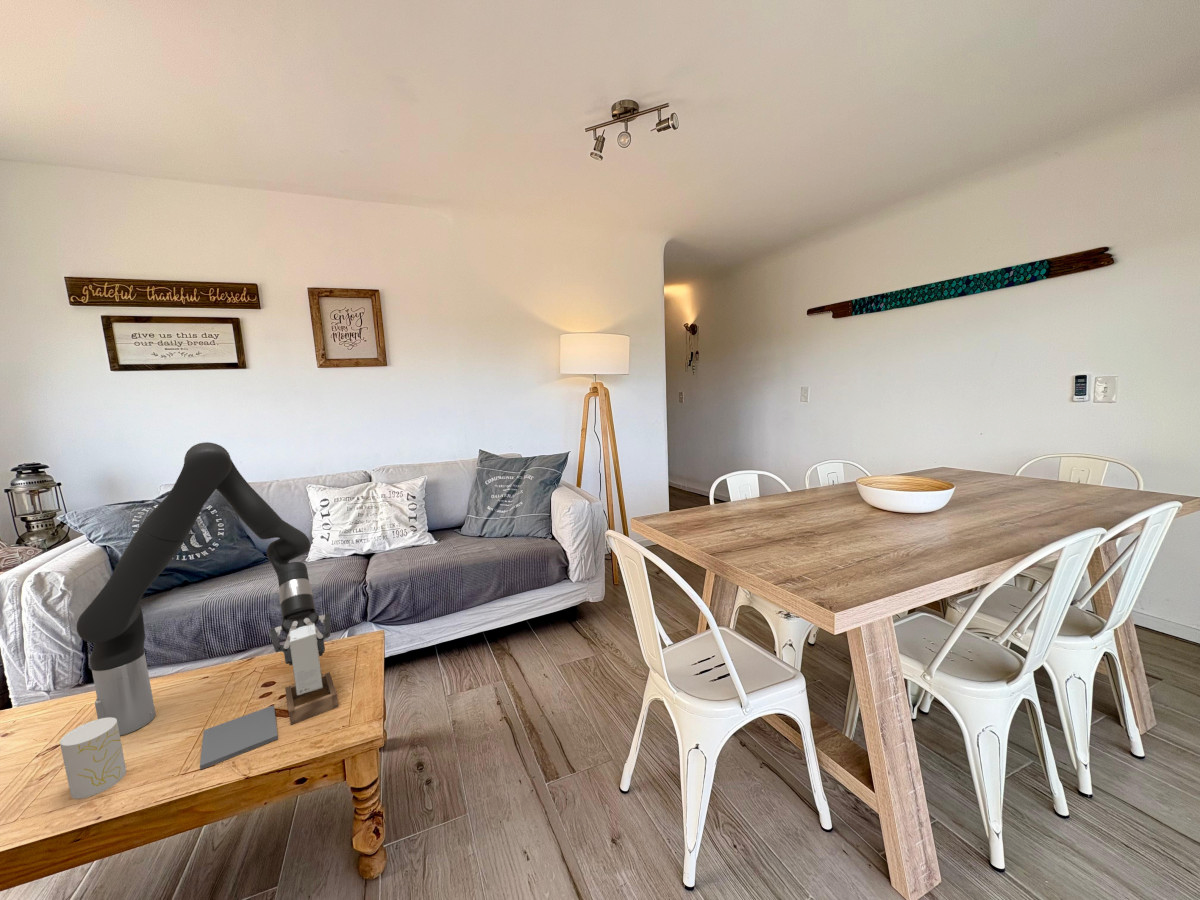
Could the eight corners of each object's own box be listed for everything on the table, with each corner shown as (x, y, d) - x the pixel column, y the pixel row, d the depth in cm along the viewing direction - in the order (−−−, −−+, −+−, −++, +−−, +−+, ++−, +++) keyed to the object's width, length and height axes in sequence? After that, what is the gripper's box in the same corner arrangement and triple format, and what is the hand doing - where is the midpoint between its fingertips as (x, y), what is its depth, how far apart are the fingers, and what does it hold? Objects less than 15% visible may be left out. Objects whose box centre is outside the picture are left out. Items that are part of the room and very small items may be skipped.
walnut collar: (290, 725, 115) (288, 711, 115) (286, 699, 125) (285, 687, 124) (338, 706, 121) (336, 694, 121) (331, 683, 131) (329, 672, 131)
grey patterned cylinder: (86, 802, 95) (76, 748, 93) (60, 794, 97) (49, 741, 95) (135, 770, 103) (126, 720, 101) (110, 764, 105) (101, 714, 103)
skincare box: (323, 688, 121) (317, 634, 119) (295, 697, 118) (289, 641, 116) (320, 672, 128) (315, 620, 126) (294, 680, 124) (288, 627, 123)
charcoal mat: (200, 770, 102) (199, 765, 102) (204, 733, 113) (203, 730, 113) (277, 739, 110) (277, 735, 110) (274, 708, 121) (273, 704, 121)
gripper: (263, 601, 121) (271, 665, 113) (327, 586, 130) (338, 644, 122) (265, 613, 126) (272, 675, 118) (326, 598, 135) (337, 654, 127)
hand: (306, 659), depth 120 cm, fingers closed on skincare box, 6 cm apart
